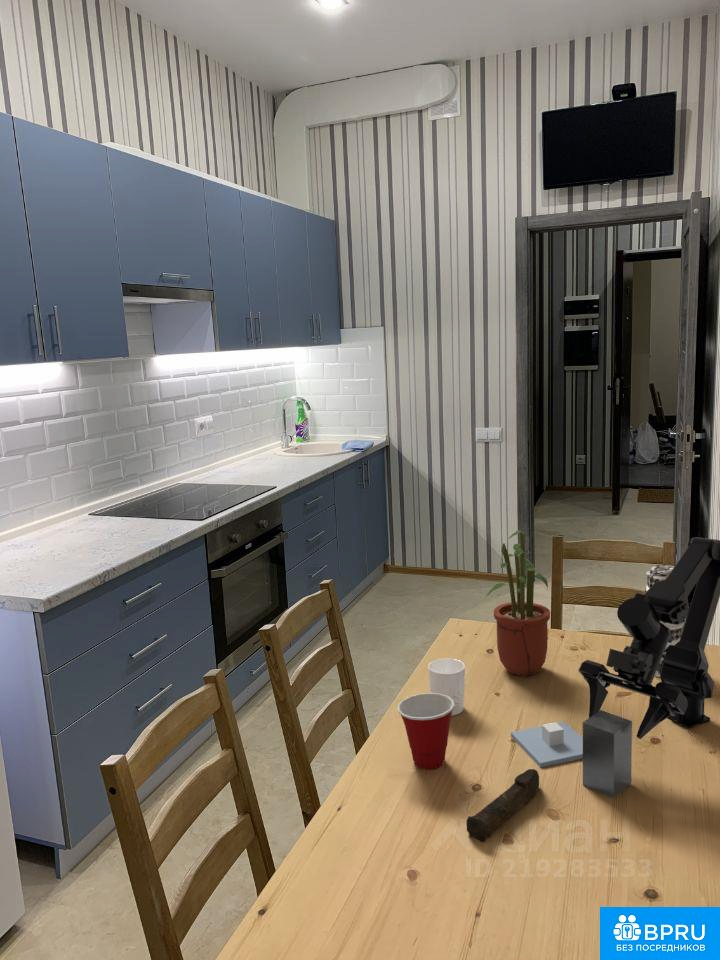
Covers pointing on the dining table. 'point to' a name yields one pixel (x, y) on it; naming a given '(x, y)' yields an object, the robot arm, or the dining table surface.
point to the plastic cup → (427, 727)
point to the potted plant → (521, 617)
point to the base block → (550, 743)
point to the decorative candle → (653, 577)
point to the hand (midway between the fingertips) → (614, 728)
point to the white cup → (448, 680)
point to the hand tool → (504, 805)
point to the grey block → (607, 753)
